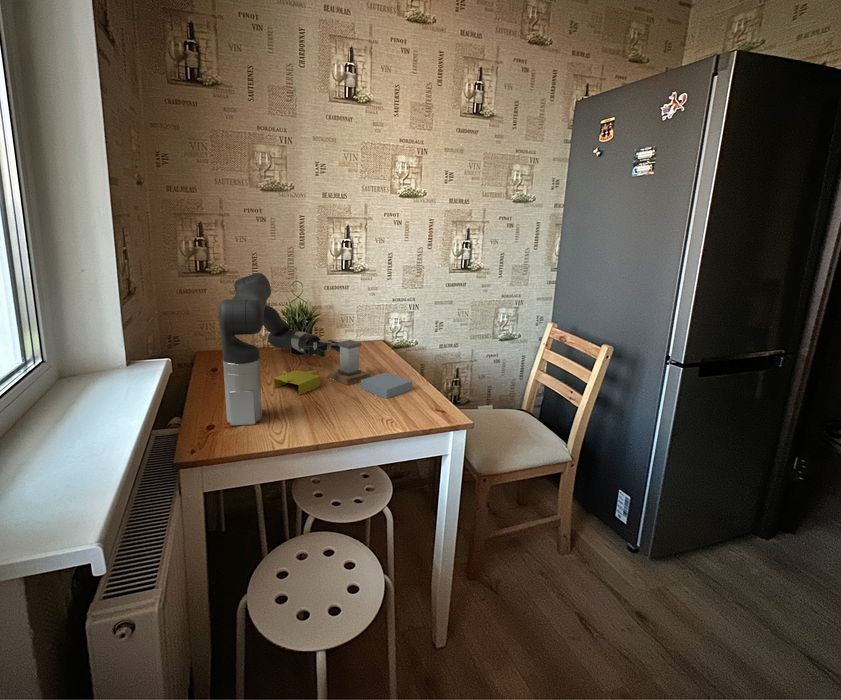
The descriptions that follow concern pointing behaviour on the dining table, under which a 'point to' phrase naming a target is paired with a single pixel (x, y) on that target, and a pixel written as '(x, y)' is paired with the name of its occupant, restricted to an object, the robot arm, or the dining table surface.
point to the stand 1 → (346, 379)
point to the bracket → (299, 380)
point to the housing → (349, 358)
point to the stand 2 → (386, 385)
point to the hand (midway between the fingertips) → (333, 351)
